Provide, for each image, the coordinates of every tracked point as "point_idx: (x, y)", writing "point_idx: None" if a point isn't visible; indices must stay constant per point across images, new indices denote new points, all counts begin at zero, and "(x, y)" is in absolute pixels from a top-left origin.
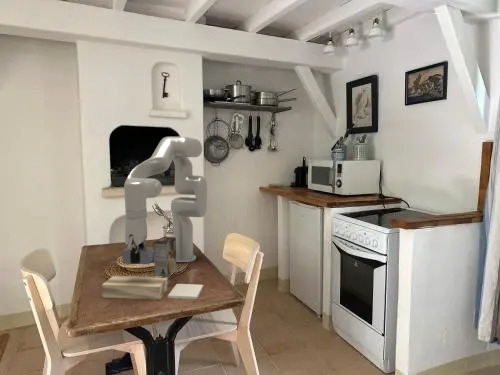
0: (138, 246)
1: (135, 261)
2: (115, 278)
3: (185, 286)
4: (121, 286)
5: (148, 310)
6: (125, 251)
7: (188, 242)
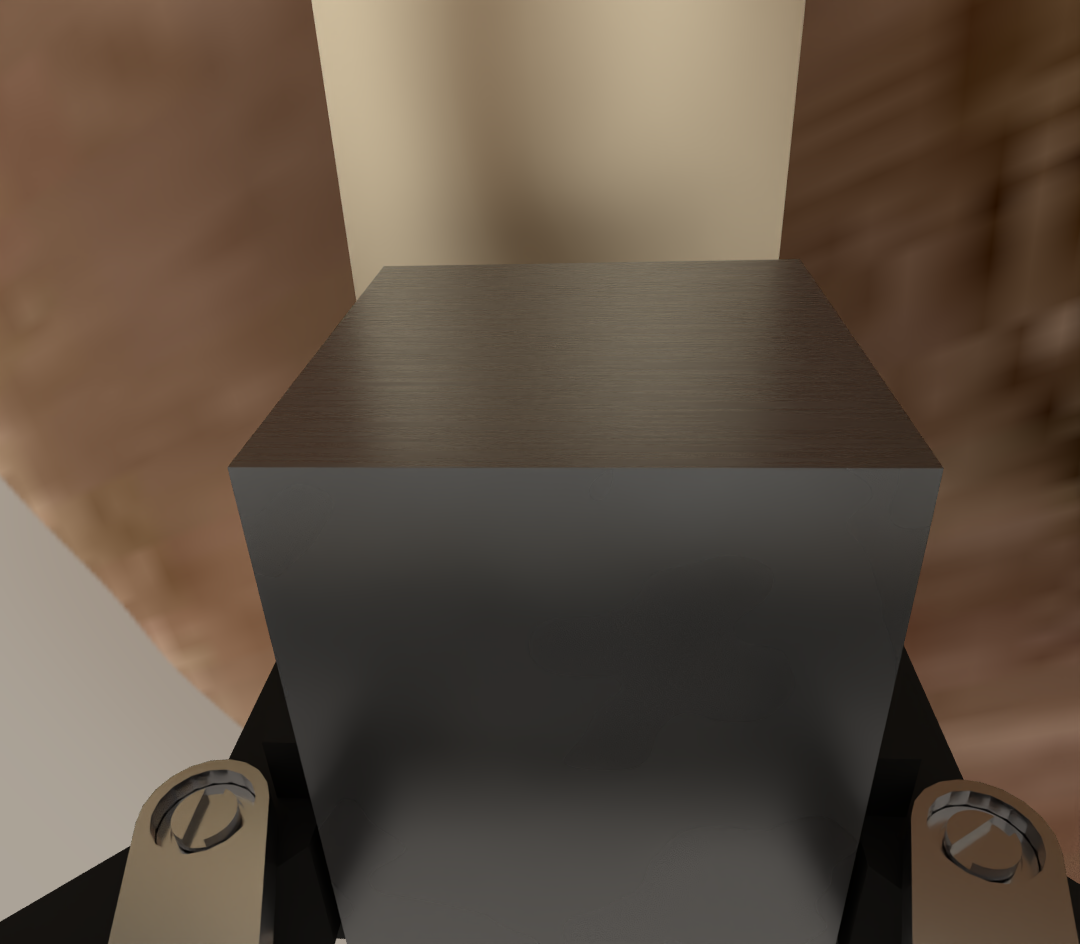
0: (900, 853)
1: None
2: None
3: None
4: (344, 177)
5: (200, 568)
6: (272, 589)
7: None
